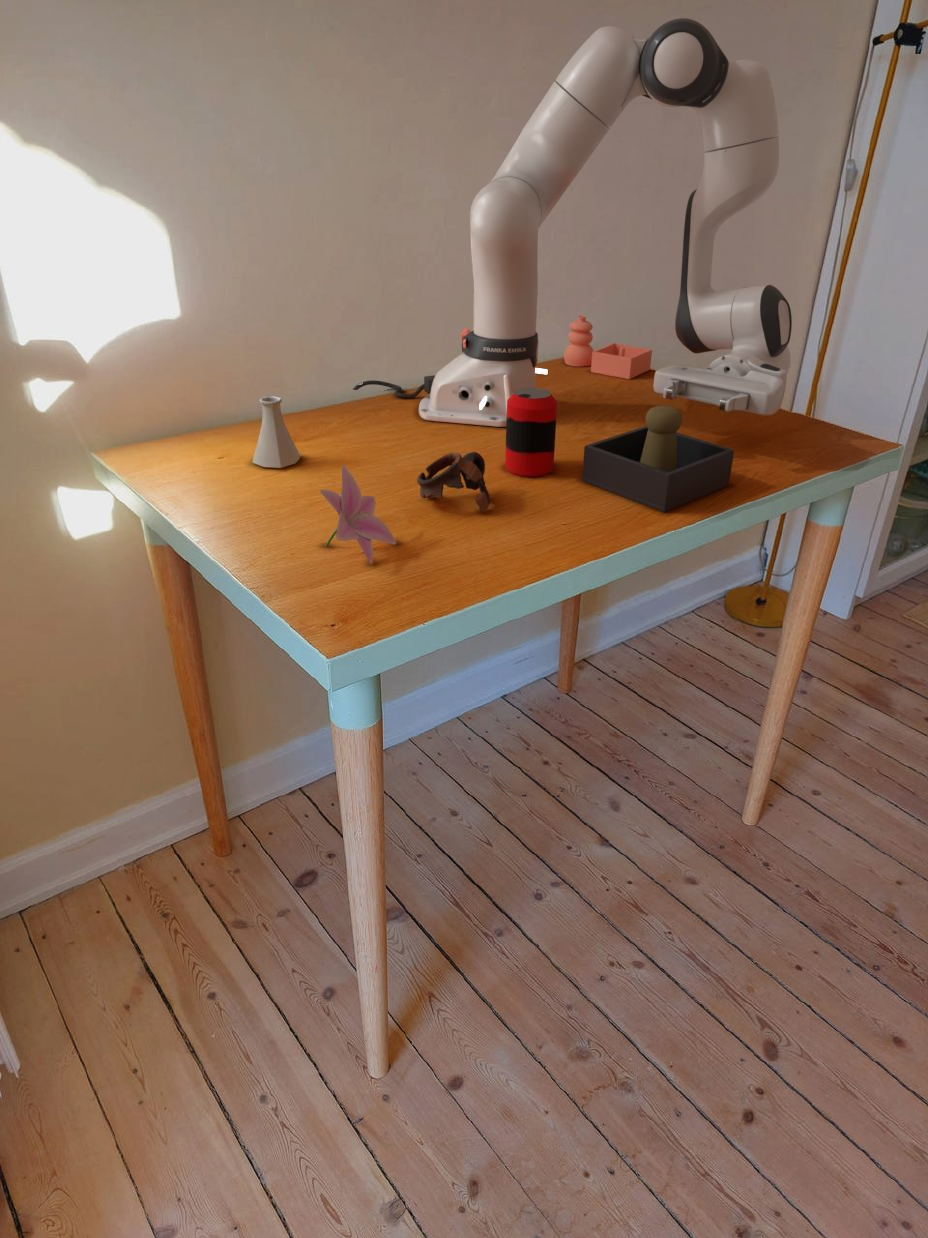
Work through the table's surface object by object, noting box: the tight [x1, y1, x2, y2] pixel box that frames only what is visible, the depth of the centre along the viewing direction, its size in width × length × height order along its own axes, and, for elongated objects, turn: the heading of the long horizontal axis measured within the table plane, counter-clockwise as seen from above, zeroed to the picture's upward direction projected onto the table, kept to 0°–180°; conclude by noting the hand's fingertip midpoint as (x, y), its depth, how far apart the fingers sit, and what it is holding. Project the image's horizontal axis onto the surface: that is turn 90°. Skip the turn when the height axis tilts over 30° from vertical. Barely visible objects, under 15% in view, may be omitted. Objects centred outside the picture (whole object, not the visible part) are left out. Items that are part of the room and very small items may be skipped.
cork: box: [640, 405, 683, 472], centre depth 133 cm, size 6×6×11 cm
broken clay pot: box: [416, 451, 492, 514], centre depth 129 cm, size 12×10×8 cm
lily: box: [319, 464, 397, 565], centre depth 114 cm, size 12×12×10 cm
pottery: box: [563, 315, 653, 380], centre depth 191 cm, size 18×10×10 cm, turn 53°
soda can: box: [504, 387, 558, 478], centre depth 138 cm, size 8×8×12 cm
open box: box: [581, 425, 735, 513], centre depth 135 cm, size 16×16×6 cm
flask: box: [252, 395, 301, 469], centre depth 141 cm, size 7×7×10 cm
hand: (695, 399), depth 138 cm, fingers open, 8 cm apart
